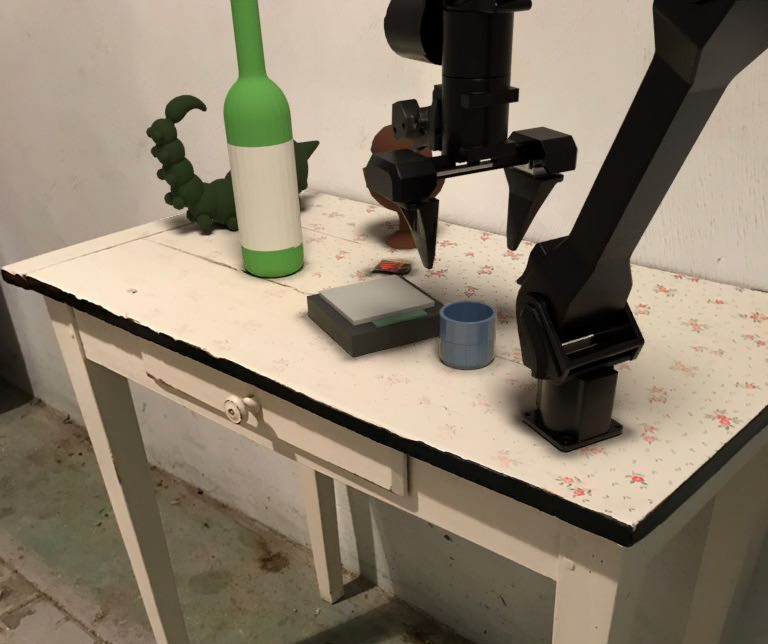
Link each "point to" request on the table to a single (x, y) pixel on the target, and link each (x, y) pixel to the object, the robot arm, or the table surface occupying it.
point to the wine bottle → (261, 156)
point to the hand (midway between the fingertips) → (470, 258)
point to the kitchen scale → (375, 314)
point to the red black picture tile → (392, 266)
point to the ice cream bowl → (403, 235)
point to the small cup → (467, 334)
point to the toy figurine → (187, 186)
